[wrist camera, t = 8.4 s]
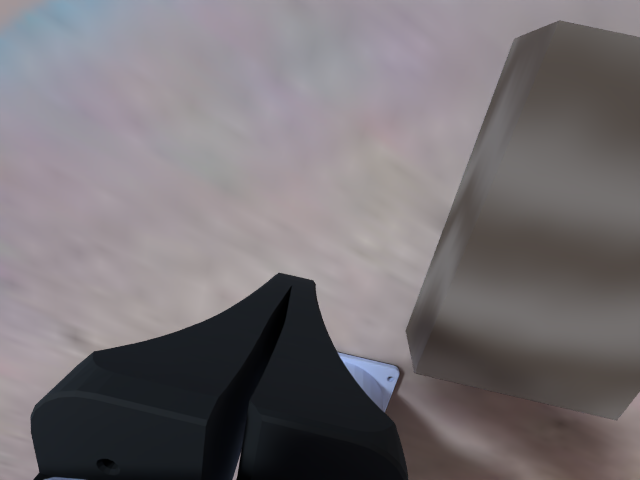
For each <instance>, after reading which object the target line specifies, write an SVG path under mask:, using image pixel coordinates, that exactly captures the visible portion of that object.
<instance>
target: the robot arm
mask: <svg viewBox="0 0 640 480" xmlns="http://www.w3.org/2000/svg"><path fill="white" fill-rule="evenodd" d="M388 377H392V378H388ZM398 377H399V369H398V367H396V366H394V365H390V364H385V363H381V362H377V361H373V360H368V359H364V358H360V357H355V356H351V355H347V354H343V353H338V352H337V351H336V349H335V347H334V345H333V343H332V341H331V339H330V337H329V334H328V332H327V329H326V327H325V324H324V322H323V319H322V316H321V312H320V309H319V305H318V301H317V296H316V284H315V282H314V281H313V280H309V279H304V278H300V277H296V276H291V275H287V274H283V273H278V274H276V275H275V276H274V277H273V278H271V279H270V280H269V281H268V282H267V283H265V284H264V285H263V286H262V287H260V288H259V289H258V290H256V291H255V292H253V293H252V294H251V295H249V296H248V297H246V298H245V299H243V300H242V301H240V302H239V303H237V304H235V305H234V306H232V307H231V308H229V309H227V310H225V311H224V312H222V313H220V314H218V315H216V316H214V317H212V318H210V319H208V320H205V321H203V322H201V323H198V324H195V325H193V326H190V327H188V328H185V329H182V330H180V331H177V332H174V333H171V334H168V335H164V336H161V337H158V338H154V339H150V340H147V341H143V342H139V343H135V344H130V345H125V346H120V347H115V348H110V349H105V350H100V351H94V352H93V353H92V354H91V355H89V356H88V357H87V358H86V359H84V360H83V361H82V362H81V363H80V364H78V365H77V366H76V367H75V368H74V369H73V370H72V371H71V372H70V373H69V374H68V375H67V376H66V377H65V378H64V379H63V380H61V381H60V382H59V383H58V384H57V385H56V386H55V387H54V388H53V389H52V390H51V391H50V392H49V393H48V394H47V395H46V396H45V397H43V398H42V399H41V400H40V401H39V402H38V403H37V404H36V405H35V407H34V409H33V412H32V414H31V434H32V439H33V444H34V449H35V453H36V458H37V463H38V467H39V472H40V473H39V474H38V475H37V476H36V477H35V478H34V480H232V479H233V476H234V472H235V469H236V466H237V463H238V460H239V456H240V453H241V457H240V463H239V469H238V476H237V480H408V473H407V467H406V462H405V457H404V453H403V449H402V446H401V442H400V439H399V435H398V432H397V429H396V425H395V423H394V422H393V421H392V420H391V419H390V418H389V417H388V416H387V415H386V414H385V411H386V408H387V406H388V403H389V400H390V398H391V395H392V393H393V390H394V388H395V385H396V382H397V380H398Z"/></svg>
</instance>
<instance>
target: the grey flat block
mask: <svg viewBox="0 0 640 480" xmlns="http://www.w3.org/2000/svg"><path fill="white" fill-rule="evenodd" d="M406 334H407V339H408V344H409V349H410V354H411V359H412V363H413V368H414V373H416V374H420V375H424V376H429V377H433V378H437V379H442V380H446V381H450V382H454V383H459V384H463V385H467V386H471V387H476V388H480V389H484V390H489V391H493V392H497V393H501V394H506V395H510V396H514V397H518V398H523V399H527V400H531V401H536V402H540V403H544V404H548V405H553V406H557V407H561V408H565V409H570V410H574V411H578V412H583V413H587V414H591V415H595V416H600V417H604V418H608V419H612V420H618V418H619V417H620V416H621V415H622V413H623V412H624V411H625V410H626V408H627V407H628V406H629V404H630V403H631V402H632V401H633V399H634V398H635V397H636V396H637V394H638V393H639V392H640V37H636V36H631V35H627V34H622V33H617V32H612V31H607V30H603V29H598V28H593V27H588V26H583V25H578V24H574V23H569V22H564V21H557V22H554V23H552V24H549V25H547V26H545V27H542V28H540V29H537V30H535V31H532V32H530V33H527V34H525V35H523V36H520V37H518V38H515V39H514V41H513V44H512V46H511V49H510V52H509V54H508V57H507V60H506V62H505V65H504V68H503V71H502V73H501V76H500V79H499V81H498V84H497V87H496V89H495V92H494V95H493V97H492V100H491V103H490V106H489V108H488V111H487V114H486V116H485V119H484V122H483V124H482V127H481V130H480V132H479V135H478V138H477V140H476V143H475V146H474V149H473V151H472V154H471V157H470V159H469V162H468V165H467V167H466V170H465V173H464V175H463V178H462V181H461V183H460V186H459V189H458V192H457V194H456V197H455V200H454V202H453V205H452V208H451V210H450V213H449V216H448V218H447V221H446V224H445V227H444V229H443V232H442V235H441V237H440V240H439V243H438V245H437V248H436V251H435V253H434V256H433V259H432V261H431V264H430V267H429V270H428V272H427V275H426V278H425V280H424V283H423V286H422V288H421V291H420V294H419V296H418V299H417V302H416V304H415V307H414V310H413V313H412V315H411V318H410V321H409V323H408V326H407V329H406Z"/></svg>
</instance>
